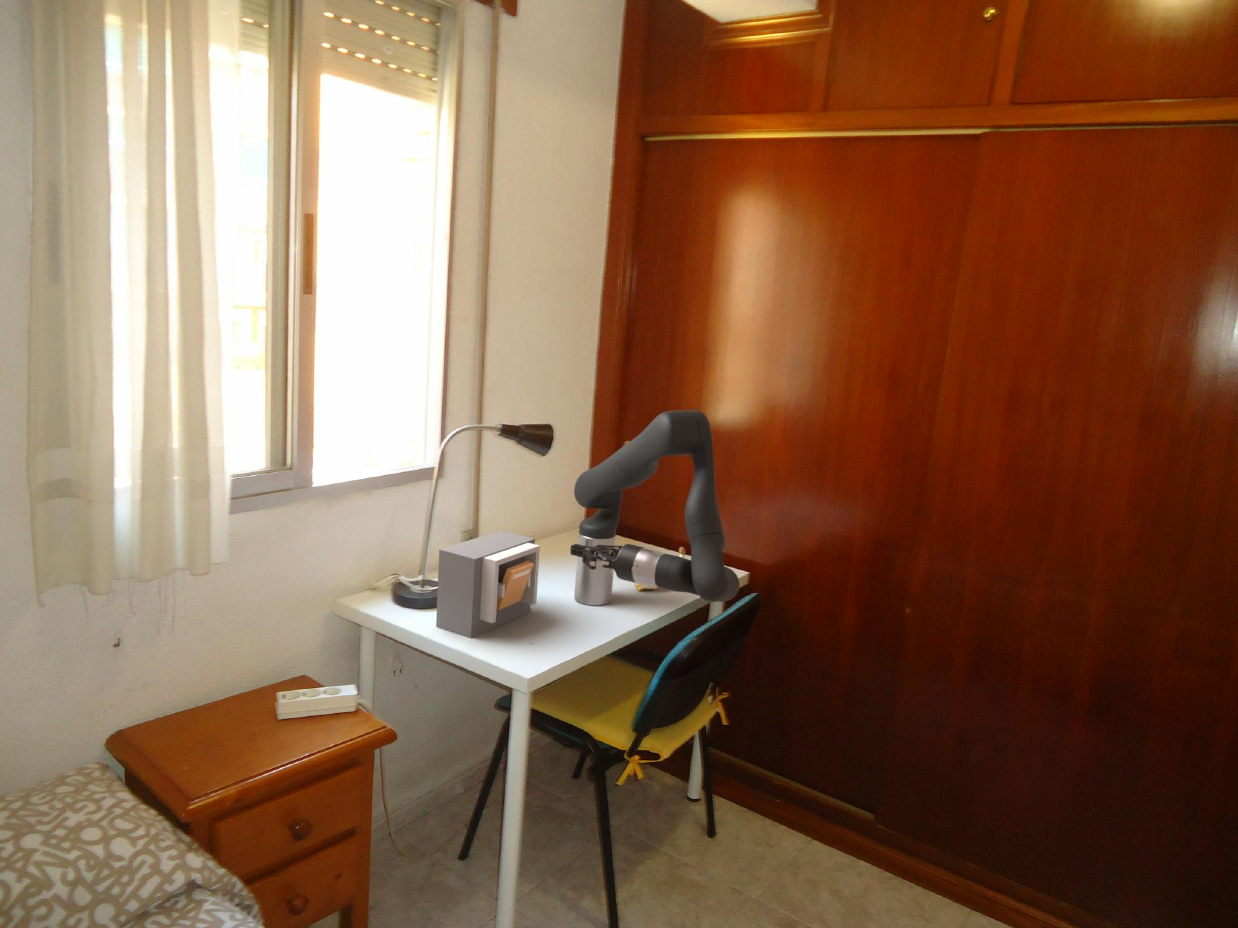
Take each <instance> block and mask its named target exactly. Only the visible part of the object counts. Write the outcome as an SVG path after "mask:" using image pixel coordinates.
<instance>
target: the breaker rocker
mask: <svg viewBox="0 0 1238 928" xmlns="http://www.w3.org/2000/svg"><path fill="white" fill-rule="evenodd" d="M533 565H534V564H533V563H531V562H530V561H526V562H524V563H521V564H518V565H515V566H513V567H510V568H507V570H506V573H505V576H504V578H503V581H502V584H505V593H504V598H500V597H497V609H498V610H500V609H502V608H505V607H507V606H509V605H512V604H514V603H516V602H519V601H521V598H522V595H523V592H524V590H525V587H526V584H527V581H528V579H529V576H530V573H531V570H532V568H533Z"/></svg>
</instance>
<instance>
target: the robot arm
mask: <svg viewBox="0 0 1238 928" xmlns="http://www.w3.org/2000/svg"><path fill="white" fill-rule="evenodd" d="M712 434H713V433H712V428H711V425H710V421H709V419H708V416H707V415H706V414H705V413H704V412H702V410H696V409H688V410H687V409H683V410H681V409H680V410H678V409H677V410H676V409H675V410H668V411H663V412H661V413H660V414H658V415H656V417H655V418H653V420H652V421H651V422H650V423H649V424H648V425H647V427H645V429H643V430H642V431H641V432H640V433H639V434H638V435H637V436H636V437H634V438H633V439H632V440H630V441H629V442H627V443H626V444H624V445H623V446H622V447H621V448H618V450H617V451H615V452H614V453H613V454H612V455H610V456H608V457H607V458H606V459H604V460H603V461H602V462H601V463H599V464H598V465H596V466H594V467H592V468H590V469H587V470H585V471H583V472H581V474H580V475H579V476H578V478H577V479H576V481H575V484H574V489H573V494H574V499H575V501H576V502H577V504H578V505H579V506H581V507H583V508H585V509H589V510H590V509H598V510H597V511H596V512H595V513H594V514H593V515H591V516H589V517H587V518H585V519H583V520H581V522H579V523H580V524H579V528H578V539H577V541H578V542H577V543H574V544H571V545H570V555H571V556H575V557H576V568H575V569H576V570H575V582H574V583H575V584H574V597H573V598H574V601H575V602H577V603H580V604H583V605H587V606H603V605H607V604H609V603H610V602H611V598H612V595H613V593H612V592H613V583H614V572H615V574H616V577H617V578H618V579H619V580H622V581H627V582H631V583H637V584H641V585H645V586H651V587H658V588H660V589H664V590H667V591H672V592H676V593H678V592H679V593H687V594H692V595H696V596H699V598H701V599H703V600H704V601H706V602H711V603H712V602H713V603H714V602H715V603H716V602H719V603H720V602H721V603H723V602H728V601H730V600H733V598H735V597H736V596H737V594H738V592H739V591H740V579H739V577H738V575H737V573H736V572H735V571H734V570H733V569H731V568H729V567H727V566H725V564H724V563H725V562H724V557H723V550H724V549H725V548H726V538H725V532H724V528H723V523H722V520H721V514H720V510H719V506H718V505H719V503H718V497H717V490H716V489H717V486H716V471H715V457H714V444H713V443H714V442H713V435H712ZM671 456H690V457H691V460H692V465H693V479H692V483H691V487H690V491H689V494H688V496H687V500H686V501H685V502H686V503H685V506H684V507H685V508H684V521H685V526H686V532H687V536H688V540H689V545H690V549H691V552H690V553H691V556H690V559H688V558H685V557H684V558H683V557H679V555H674V554H669V553H665V552H663V551H660V550H658V549H653V548H649V547H644V546H640V545H636V544H631V543H625V544H624V545H616V533H617V529H618V526H619V521H620V520H619V519H620V511H621V506H622V504H621V503H622V497H623V491H624V490H627V489H631V488H634V487H637V486H639V485H641V484H642V483H644V482H646V481H647V480H649V479H650V478H651V477H653V476H654V474H655V473H656V472H657V469H658V468H659V460H660V459H662V458H665V457H671ZM658 588H657V589H658Z"/></svg>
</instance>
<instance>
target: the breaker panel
mask: <svg viewBox="0 0 1238 928" xmlns="http://www.w3.org/2000/svg"><path fill="white" fill-rule="evenodd" d="M535 543H536V538H532V537H528V536H525V535H520V534H516V533H512V532H508V531H503V530H499V531H496V532H493V533H489V534H486V535H483V536H479V537H476V538H472V539H468V540H467V541H462V542H459V543H456V544H452V545H450V546H445V547H442V548H440V549H438V574H437V594H436V595H437V596H436V597H437V598H436V621H435V622H436V623H435V627H436V626H437V627H436V628H439V627H441V628H440V629H442V628H443V629H442V630H445V629H446V630H445V631H448V630H450V631H449V632H451V631H452V632H451V633H454V632H455V633H454V634H457V633H458V634H457V635H461V636H463V635H464V636H463V637H466V636H467V638H470V639H472V638H475V637H476V636H478V635H481V634H483V633H485V632H488V631H490V630H491V629H494V628H497V627H499V626H501V625H503V624H505V623H507V622H509V621H512V620H514V619H515V618H518V617H520V616H523V615H525V614H527V613H530V612H531V606H532V605H533V606H535V605H536V604H537V599H538V598H537V597H538V584H539V583H538V581H539V566H540V552H541V551H540V550H541V545H539V544H535ZM526 561H530V562H531V563H533V564H534V565H533V568H532V570H531V573H530V576H529V579H528V581H527V584H526V587H525V590H524V592H523V595H522V598H521V601H519V602H516V603H514V604H512V605H509V606H507V607H505V608H502V609H500V610H498V609H497V597H500V598H504V593H505V584H502V581H503V578H504V576H505V573H506V570H507V568H510V567H513V566H515V565H518V564H521V563H524V562H526Z"/></svg>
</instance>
